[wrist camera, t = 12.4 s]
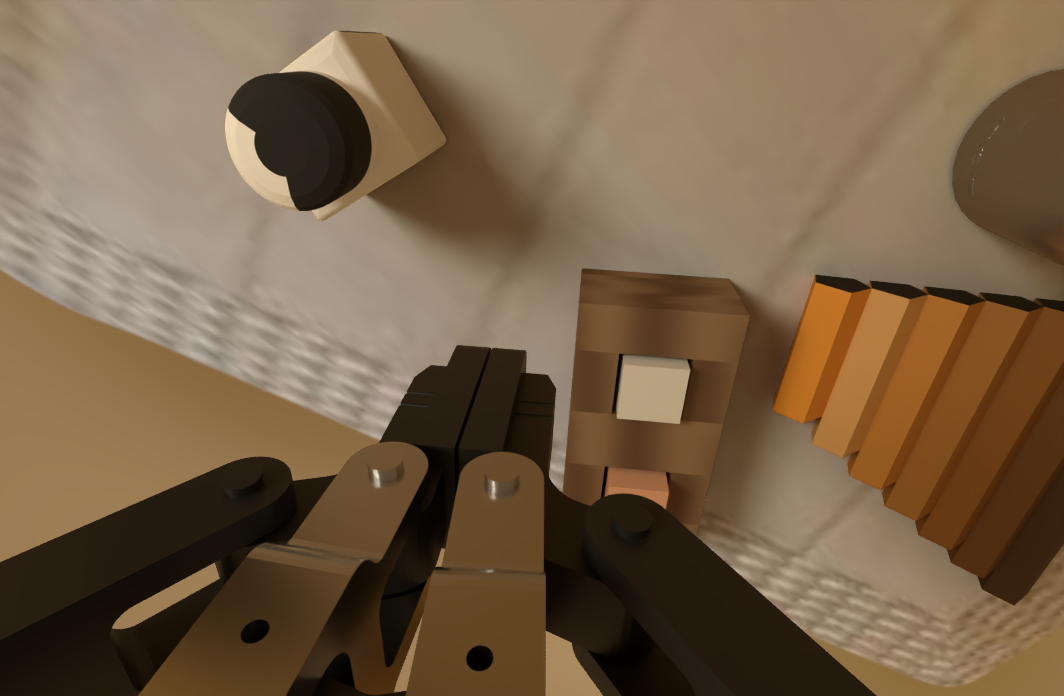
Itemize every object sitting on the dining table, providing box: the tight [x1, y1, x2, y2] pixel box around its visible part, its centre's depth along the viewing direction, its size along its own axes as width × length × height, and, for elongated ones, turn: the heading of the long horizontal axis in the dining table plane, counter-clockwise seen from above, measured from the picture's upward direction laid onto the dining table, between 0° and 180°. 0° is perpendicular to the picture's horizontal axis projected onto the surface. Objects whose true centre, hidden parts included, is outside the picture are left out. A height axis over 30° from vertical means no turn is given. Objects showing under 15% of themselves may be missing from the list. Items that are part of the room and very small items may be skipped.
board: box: [563, 269, 750, 536], centre depth 41 cm, size 10×20×6 cm, turn 178°
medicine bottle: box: [225, 31, 446, 220], centre depth 31 cm, size 7×7×12 cm
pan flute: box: [773, 275, 1064, 605], centre depth 42 cm, size 25×3×25 cm
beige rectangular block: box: [615, 353, 690, 424], centre depth 38 cm, size 4×4×6 cm
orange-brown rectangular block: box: [602, 466, 669, 509], centre depth 42 cm, size 4×4×6 cm
